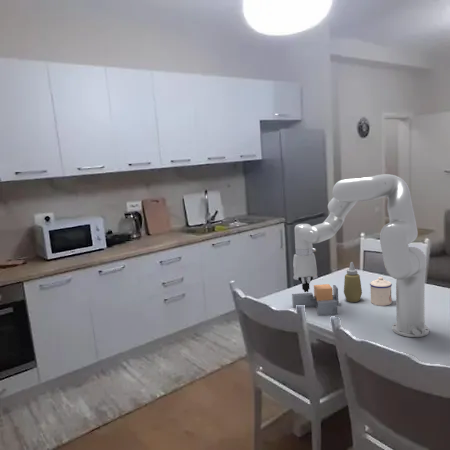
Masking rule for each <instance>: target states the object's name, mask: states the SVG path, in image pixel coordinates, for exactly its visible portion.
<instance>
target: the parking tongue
mask: <svg viewBox="0 0 450 450" xmlns="http://www.w3.org/2000/svg"><path fill="white" fill-rule="evenodd" d="M316 313H317V315H318V316H332V315H333V316H334V315H338V306H337V301H336V300H321V301H317V306H316Z"/></svg>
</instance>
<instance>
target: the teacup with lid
mask: <svg viewBox="0 0 450 450" xmlns="http://www.w3.org/2000/svg"><path fill="white" fill-rule="evenodd" d="M369 286H370V303H371V304H372V305H375V306H381V307H382V306H383V307H385V306H389V305H391V304H392V300H393V299H392V286H393V284H392V282H391V281H390V280H386V279H384V277H383V276H378V278H377V279H374V280H372V281H371V282H370V283H369Z"/></svg>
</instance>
